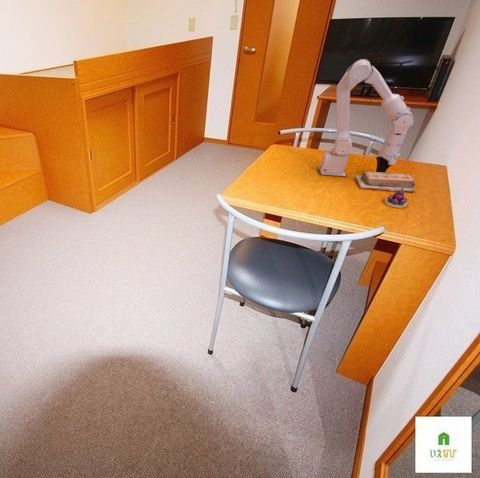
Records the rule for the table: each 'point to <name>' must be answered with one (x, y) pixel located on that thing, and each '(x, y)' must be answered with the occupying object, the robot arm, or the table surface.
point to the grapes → (397, 199)
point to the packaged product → (386, 181)
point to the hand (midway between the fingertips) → (379, 174)
